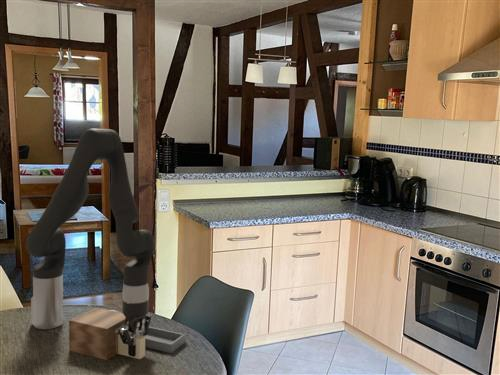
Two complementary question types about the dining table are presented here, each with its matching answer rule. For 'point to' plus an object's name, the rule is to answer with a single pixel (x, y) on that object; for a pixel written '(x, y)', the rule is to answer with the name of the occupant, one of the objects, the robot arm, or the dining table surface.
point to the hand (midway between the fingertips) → (135, 353)
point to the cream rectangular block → (123, 348)
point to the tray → (163, 339)
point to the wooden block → (95, 332)
